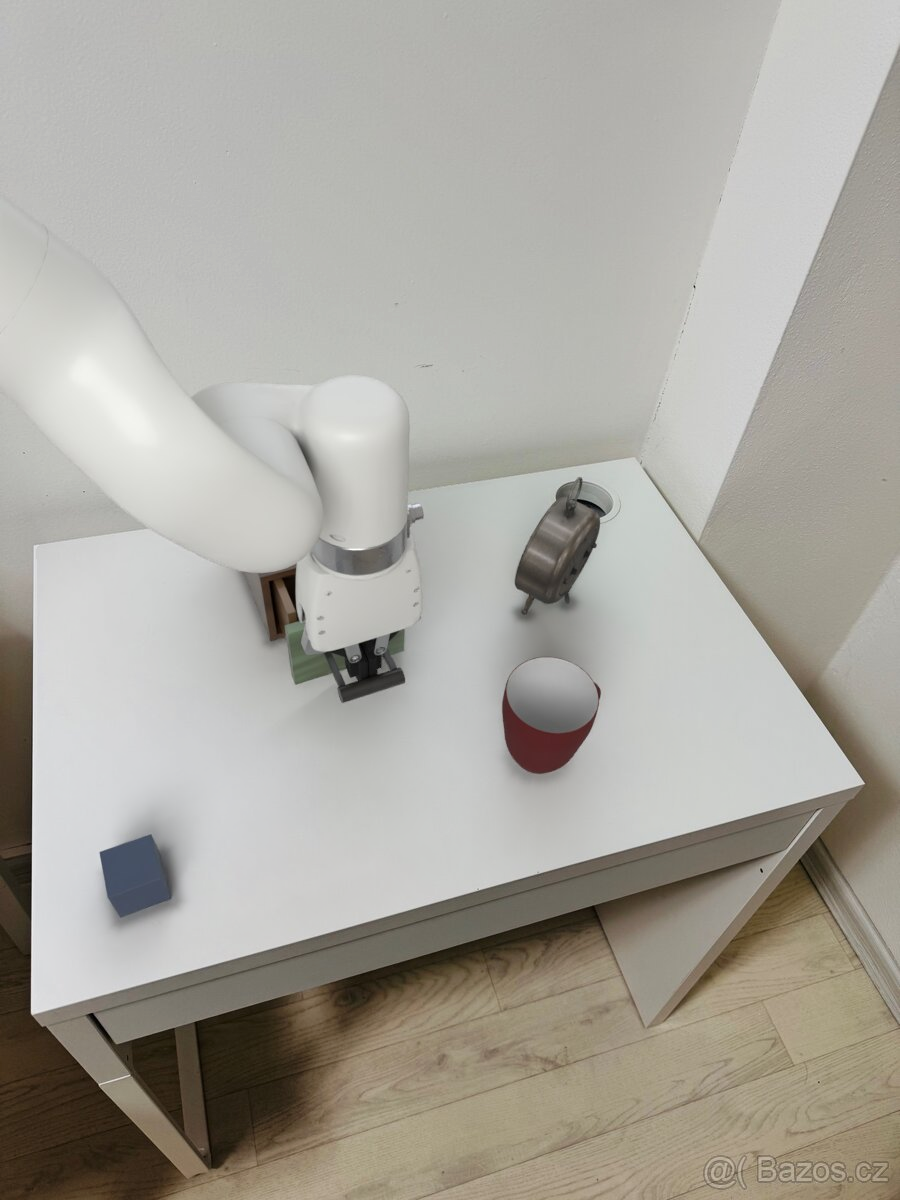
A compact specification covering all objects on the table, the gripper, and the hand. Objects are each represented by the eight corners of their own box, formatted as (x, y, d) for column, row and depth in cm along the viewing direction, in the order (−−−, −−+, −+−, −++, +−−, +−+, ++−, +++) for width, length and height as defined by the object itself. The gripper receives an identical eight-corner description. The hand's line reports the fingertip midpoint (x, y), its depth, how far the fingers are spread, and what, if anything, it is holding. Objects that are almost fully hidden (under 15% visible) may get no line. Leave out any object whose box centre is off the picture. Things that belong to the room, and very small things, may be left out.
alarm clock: (553, 555, 96) (577, 441, 84) (595, 575, 94) (626, 462, 82) (505, 613, 90) (524, 500, 78) (549, 636, 88) (575, 524, 76)
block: (120, 917, 66) (107, 898, 63) (111, 872, 69) (99, 851, 66) (171, 898, 68) (161, 878, 65) (161, 855, 70) (151, 833, 67)
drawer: (430, 702, 81) (434, 652, 75) (317, 740, 77) (311, 691, 71) (358, 561, 92) (356, 508, 87) (257, 588, 89) (248, 536, 83)
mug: (549, 690, 83) (565, 626, 76) (613, 742, 80) (636, 680, 72) (475, 753, 78) (485, 691, 71) (540, 811, 75) (557, 752, 67)
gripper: (428, 479, 69) (421, 622, 83) (249, 524, 64) (273, 668, 78) (466, 539, 64) (453, 680, 78) (277, 592, 60) (298, 732, 73)
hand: (363, 673), depth 78 cm, fingers closed
